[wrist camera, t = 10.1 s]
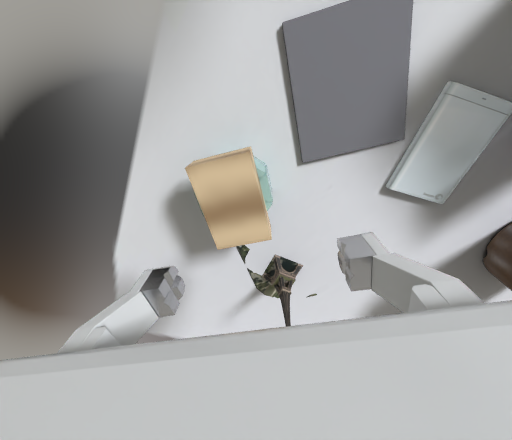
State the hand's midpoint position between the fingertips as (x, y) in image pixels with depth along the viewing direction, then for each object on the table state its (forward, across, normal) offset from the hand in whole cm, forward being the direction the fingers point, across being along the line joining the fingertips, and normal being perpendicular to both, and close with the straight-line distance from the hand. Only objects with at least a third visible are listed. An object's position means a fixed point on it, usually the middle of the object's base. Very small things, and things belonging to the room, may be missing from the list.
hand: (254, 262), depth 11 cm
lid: (+15, +4, +2) cm, 16 cm away
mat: (+20, -11, -6) cm, 24 cm away
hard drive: (+21, -22, +4) cm, 31 cm away
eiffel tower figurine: (+20, +1, +19) cm, 28 cm away
